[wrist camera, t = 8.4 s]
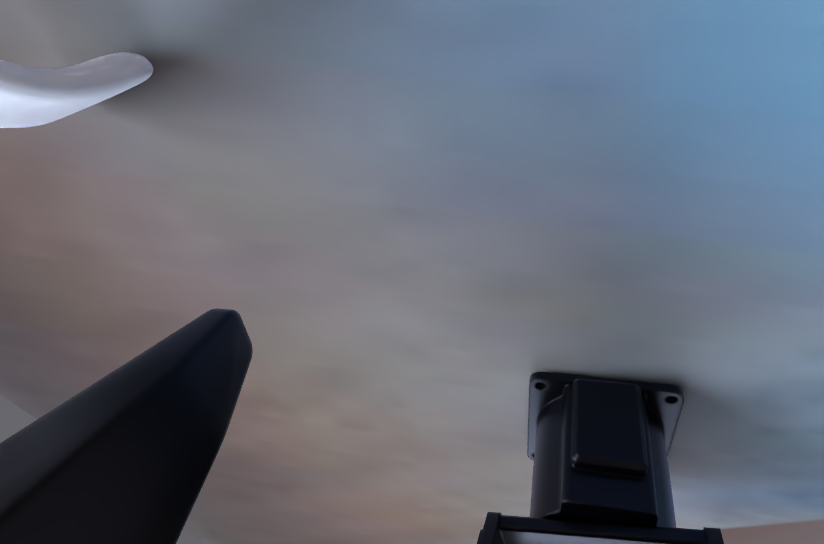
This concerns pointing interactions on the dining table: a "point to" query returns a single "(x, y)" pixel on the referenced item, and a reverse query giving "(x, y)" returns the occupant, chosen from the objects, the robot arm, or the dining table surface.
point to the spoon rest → (65, 87)
